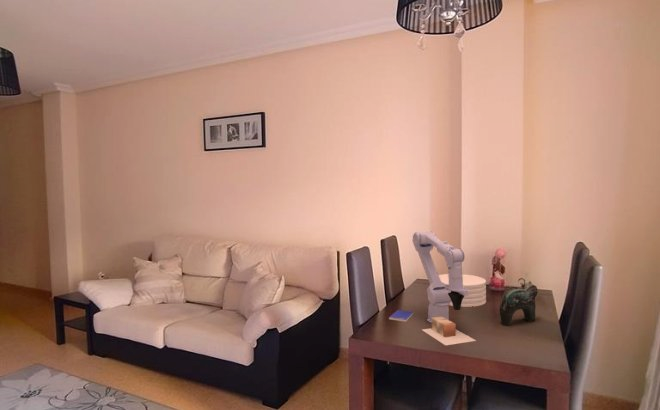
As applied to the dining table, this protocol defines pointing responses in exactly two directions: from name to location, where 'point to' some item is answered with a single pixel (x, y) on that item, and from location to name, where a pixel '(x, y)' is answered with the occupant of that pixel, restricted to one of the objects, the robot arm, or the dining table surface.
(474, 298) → the plate stack
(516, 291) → the green elephant figurine
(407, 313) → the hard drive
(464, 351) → the dining table surface
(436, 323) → the birch block
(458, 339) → the beige mat
